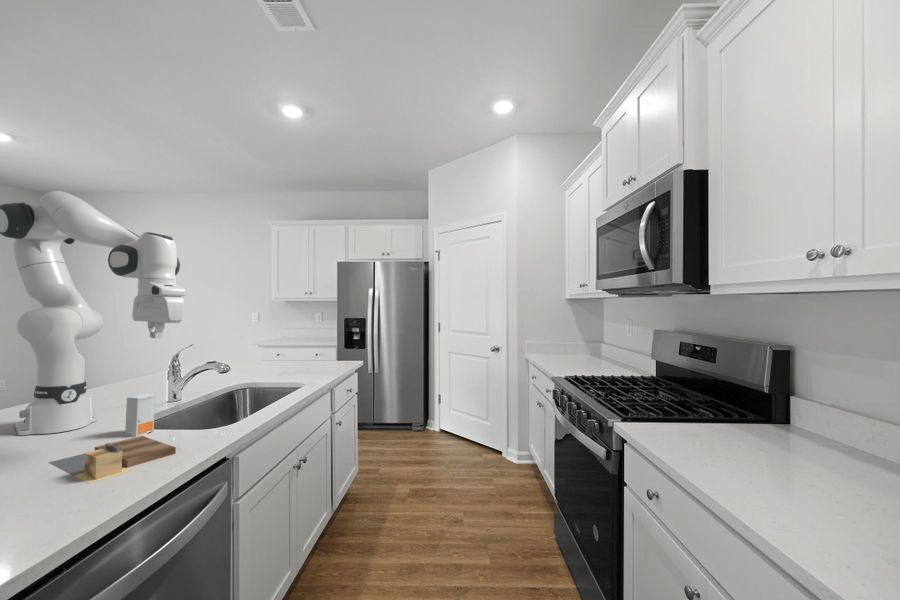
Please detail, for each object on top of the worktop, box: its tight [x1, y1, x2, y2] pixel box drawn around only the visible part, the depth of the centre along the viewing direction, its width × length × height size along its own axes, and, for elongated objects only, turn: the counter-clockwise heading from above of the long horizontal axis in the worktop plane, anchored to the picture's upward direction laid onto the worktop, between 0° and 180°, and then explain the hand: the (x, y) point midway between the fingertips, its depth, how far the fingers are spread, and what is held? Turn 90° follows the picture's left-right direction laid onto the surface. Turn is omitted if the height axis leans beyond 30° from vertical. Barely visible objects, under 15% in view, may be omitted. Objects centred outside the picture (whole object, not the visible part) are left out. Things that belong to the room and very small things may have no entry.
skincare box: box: [124, 393, 156, 438], centre depth 124 cm, size 6×4×12 cm
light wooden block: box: [84, 442, 123, 480], centre depth 95 cm, size 6×5×6 cm
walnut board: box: [94, 435, 177, 469], centre depth 108 cm, size 18×11×2 cm, turn 62°
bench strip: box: [48, 453, 131, 484], centre depth 99 cm, size 23×8×1 cm, turn 62°
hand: (155, 338), depth 114 cm, fingers closed
